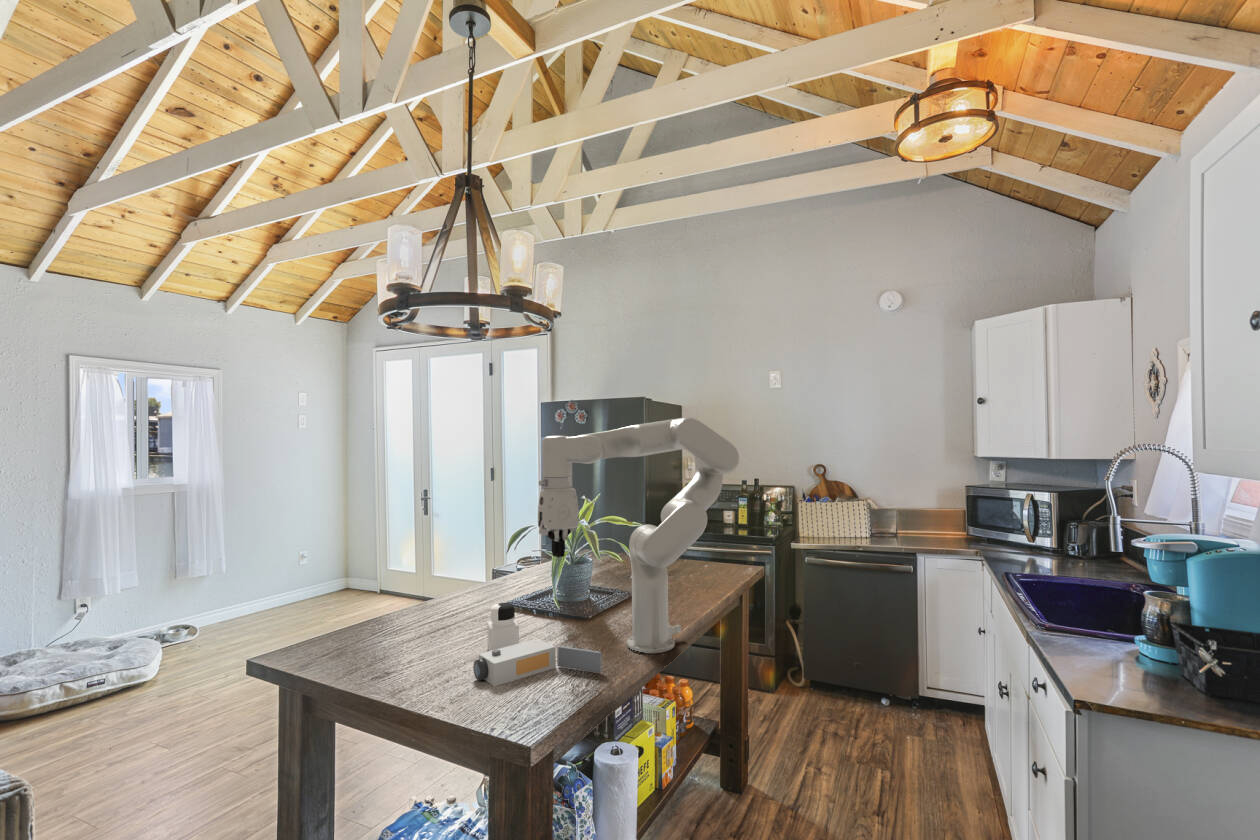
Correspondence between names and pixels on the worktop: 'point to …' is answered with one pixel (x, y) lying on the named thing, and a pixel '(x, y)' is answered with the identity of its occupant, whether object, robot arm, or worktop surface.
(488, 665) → the camera body
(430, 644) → the worktop surface
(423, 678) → the worktop surface
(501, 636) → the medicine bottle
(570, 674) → the worktop surface
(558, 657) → the side door
